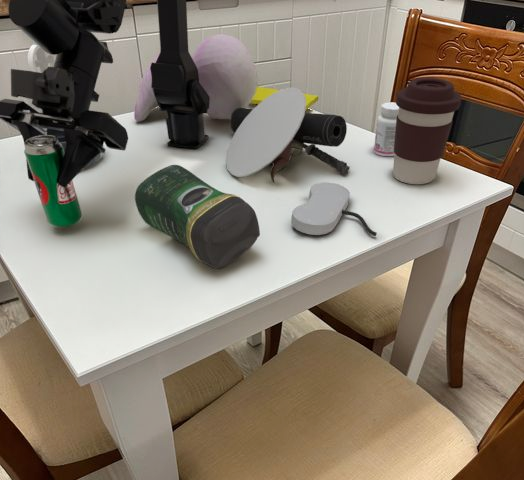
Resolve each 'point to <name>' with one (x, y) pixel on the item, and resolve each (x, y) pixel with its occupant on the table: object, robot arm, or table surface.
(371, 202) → the table surface
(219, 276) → the table surface
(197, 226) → the coffee jar
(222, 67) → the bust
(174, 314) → the table surface
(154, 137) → the table surface
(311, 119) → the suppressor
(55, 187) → the soda can
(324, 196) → the game controller
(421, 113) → the coffee cup
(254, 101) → the sign
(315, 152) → the knife
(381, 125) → the pill bottle
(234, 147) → the round grey base figurine
